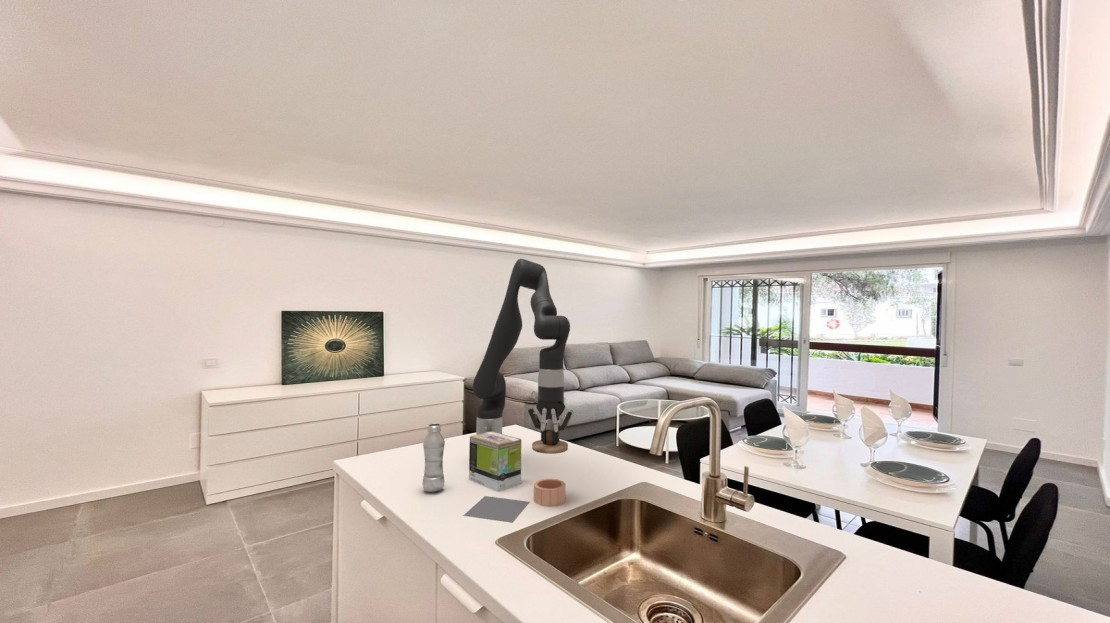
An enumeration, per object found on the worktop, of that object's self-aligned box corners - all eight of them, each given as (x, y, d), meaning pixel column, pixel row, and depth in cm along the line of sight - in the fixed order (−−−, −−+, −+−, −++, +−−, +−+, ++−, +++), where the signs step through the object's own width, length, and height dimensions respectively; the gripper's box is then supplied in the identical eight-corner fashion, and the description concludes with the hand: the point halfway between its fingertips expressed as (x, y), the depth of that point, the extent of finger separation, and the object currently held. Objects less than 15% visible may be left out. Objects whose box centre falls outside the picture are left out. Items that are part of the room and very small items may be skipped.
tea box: (522, 484, 148) (522, 438, 148) (497, 493, 141) (498, 444, 141) (491, 473, 159) (492, 429, 159) (467, 480, 151) (468, 435, 151)
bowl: (530, 506, 132) (530, 488, 132) (538, 494, 141) (538, 477, 141) (561, 509, 130) (561, 490, 130) (567, 497, 139) (567, 480, 139)
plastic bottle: (449, 488, 144) (450, 423, 144) (434, 496, 138) (435, 428, 138) (432, 485, 147) (433, 421, 147) (417, 492, 140) (418, 426, 141)
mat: (463, 516, 124) (463, 515, 124) (484, 497, 138) (484, 495, 138) (512, 524, 120) (512, 522, 120) (529, 503, 134) (529, 501, 134)
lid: (527, 451, 132) (527, 433, 132) (538, 442, 142) (538, 425, 142) (563, 455, 129) (563, 436, 129) (571, 445, 139) (571, 427, 139)
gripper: (524, 384, 134) (523, 445, 134) (571, 387, 130) (570, 449, 130) (532, 381, 141) (531, 438, 141) (577, 383, 137) (576, 442, 137)
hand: (550, 443), depth 136 cm, fingers closed on lid, 2 cm apart
